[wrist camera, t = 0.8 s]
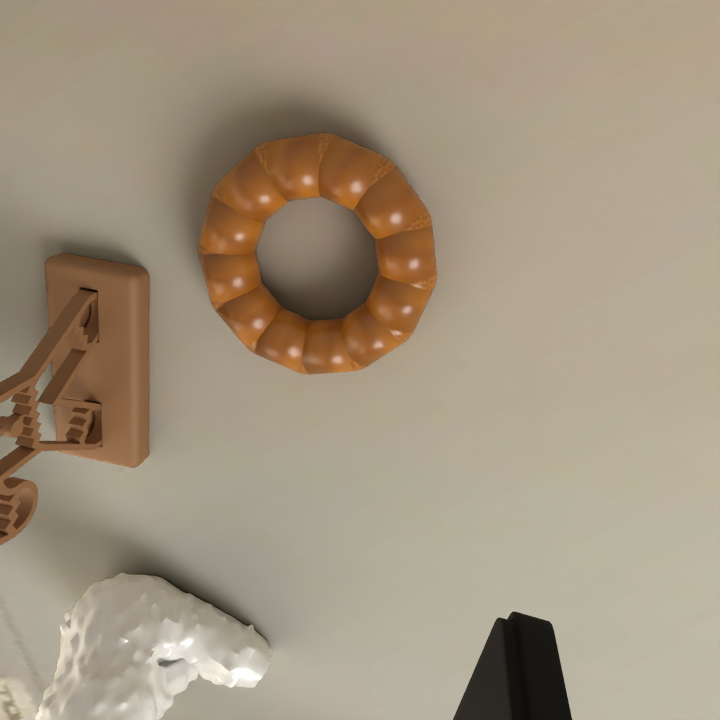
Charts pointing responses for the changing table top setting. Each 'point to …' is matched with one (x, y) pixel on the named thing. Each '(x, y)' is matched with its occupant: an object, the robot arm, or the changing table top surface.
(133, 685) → the sitting furry creature
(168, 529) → the changing table top surface
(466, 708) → the robot arm
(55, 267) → the gingerbread man figurine
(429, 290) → the donut
